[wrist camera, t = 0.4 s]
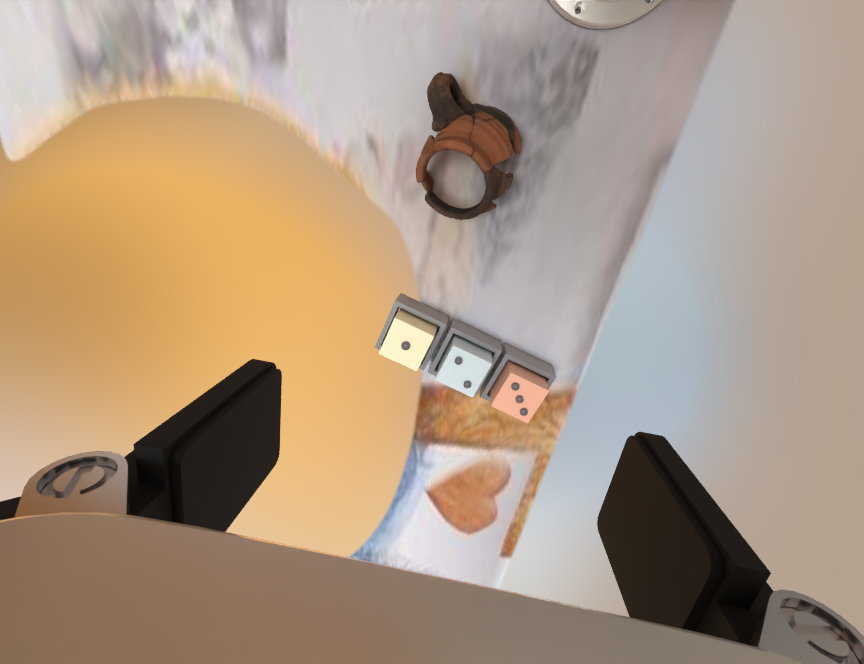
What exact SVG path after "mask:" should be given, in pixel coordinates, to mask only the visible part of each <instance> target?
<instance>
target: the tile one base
mask: <svg viewBox="0 0 864 664" xmlns="http://www.w3.org/2000/svg"><path fill="white" fill-rule="evenodd" d="M399 307H400V308H402V309H404V310H406V311H408V312H410V313H412V314H415V315H417V316H419V317H421V318H423V319H425V320H427V321H429V322H431V323H434V324H436V325H438V326H439V328H438V330H437V332H436V334H435V336H434V338H433V340H432V342H431V344H430V346H429V348H428V350H427V352H426V354H425V356H424V358H423V360H422V362H421V364H420V366H419V368H420V369H422V370H424V369H425V367H426V365H427V363H428V361H429V359H430V357H431V355H432V353H433V351H434V349H435V347H436V346H437V344H438V342H439V340H440V338H441V336H442V334H443V332H444V330H445V328H446V326H447V323H448V319H449V316H448V315H446V314H444V313H441V312H439V311H437V310H435V309H433V308H431V307H429V306H427V305H425V304H423V303H421V302H418V301H416V300H414V299H412V298H410V297H408V296H406V295H404V294H402V293H401V294H400V295H399V296H398V298H397V299H396V301H395V303H394V305H393V307H392V310H391V312H390V314H389V316H388V319H387V321H386V323H385V325H384V328H383V330H382V332H381V334H380V337H379V339H378V342H377V344H376V346H375V348H378V349H379V350H380V349H381V347H382V345H383V342H384V340H385V338H386V336H387V334H388V331H389V329H390V327H391V325H392V322H393V320H394V318H395V316H396V314H397V312H398V309H399Z"/></svg>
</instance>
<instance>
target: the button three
mask: <svg viewBox="0 0 864 664" xmlns="http://www.w3.org/2000/svg"><path fill="white" fill-rule="evenodd" d="M548 392H549V389H548V385H547V382H546V379H545V376H543V375H541V374H539V373H537V372H534V371H532V370H530V369H528V368H526V367H524V366H522V365H520V364H518V363H515V362H513V361H511V360H509V359H508V360H507V362H506V363H505V365H504V367H503V368H502V370H501V372H500V373H499V375H498V377H497V378H496V380H495V382H494V383H493V385H492V387H491V388H490V406H492V407H494V408H496V409H498V410H500V411H502V412H504V413H507V414H509V415H511V416H513V417H515V418H517V419H519V420H522V421H524V422H526V423H528V422H529V421H530V419H531V418H532V416H533V415H534V413H535V412H536V410H537V409H538V407H539V406H540V404H541V403H542V401H543V400H544V398H545V397H546V395H547V394H548Z"/></svg>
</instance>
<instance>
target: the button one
mask: <svg viewBox="0 0 864 664" xmlns="http://www.w3.org/2000/svg"><path fill="white" fill-rule="evenodd" d="M437 326H438V325H436V324H434V323H431V322H429V321H427V320H425V319H423V318H421V317H419V316H417V315H415V314H412V313H410V312H408V311H406V310H404V309H402V308H401V309H400V310H399V312H398V313H397V315H396V316H395V318H394V320H393V322H392V325H391V327H390V329H389V331H388V334H387V336H386V338H385V340H384V342H383V345H382V347H381V349H380V352H379V354H381V355H383V356H385V357H387V358H389V359H391V360H393V361H396V362H398V363H400V364H402V365H404V366H406V367H409V368H411V369H413V370H415V371H417V370H418V368H419V366H420V364H421V362H422V360H423V358H424V356H425V354H426V352H427V350H428V348H429V346H430V344H431V342H432V340H433V338H434V336H435V333H436V330H437Z"/></svg>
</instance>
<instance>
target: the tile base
mask: <svg viewBox="0 0 864 664" xmlns="http://www.w3.org/2000/svg"><path fill="white" fill-rule="evenodd" d="M508 359H509V360H511V361H513V362H515V363H518V364H520V365H522V366H524V367H526V368H528V369H530V370H532V371H534V372H537V373H539V374H541V375H543V376H545V379H546V382H547V385H548V389H549V387H550V386H551V384H552V383H553V381H554V380H555V378H556V375H555V373H554V370H553V367H552V365H550V364H548V363H546V362H544V361H542V360H540V359H538V358H536V357H534V356H532V355H529V354H527V353H525V352H523V351H521V350H519V349H517V348H515V347H513V346H511V345H508V344H506V343H504V345H503V346H502V352H501V354H500V355H499V357H498V359H497V360H496V362H495V364H494V366H493V367H492V369H491V371H490V372H489V374H488V376H487V378H486V379H485V381H484V383H483V384H482V386H481V388H480V397H482V398H484V399H486V400H488V401H490V388H491V387H492V385H493V383H494V382H495V380H496V378H497V377H498V375H499V373H500V372H501V370H502V368H503V367H504V365H505V363H506V362H507V360H508Z"/></svg>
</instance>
